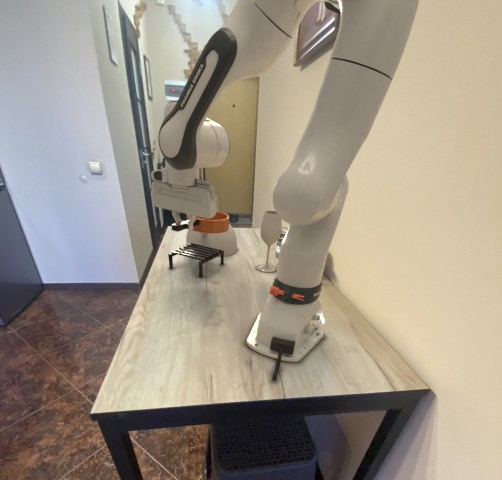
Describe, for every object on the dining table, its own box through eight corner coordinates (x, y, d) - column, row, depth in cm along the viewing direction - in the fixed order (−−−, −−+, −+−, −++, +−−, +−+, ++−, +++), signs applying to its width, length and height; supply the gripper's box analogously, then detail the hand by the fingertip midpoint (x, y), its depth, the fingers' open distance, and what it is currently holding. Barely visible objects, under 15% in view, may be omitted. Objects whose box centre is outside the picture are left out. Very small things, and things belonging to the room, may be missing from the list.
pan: (202, 219, 105) (202, 207, 103) (235, 227, 101) (236, 215, 98) (156, 234, 86) (154, 220, 84) (194, 244, 82) (194, 230, 79)
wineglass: (260, 272, 109) (266, 214, 97) (254, 265, 115) (259, 209, 103) (278, 272, 111) (286, 215, 99) (272, 265, 117) (279, 210, 105)
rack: (201, 277, 101) (200, 260, 97) (169, 268, 105) (168, 252, 102) (223, 264, 113) (224, 249, 110) (194, 256, 117) (193, 241, 114)
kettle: (229, 261, 116) (231, 201, 103) (176, 254, 118) (171, 194, 106) (241, 244, 136) (244, 192, 124) (196, 238, 139) (194, 186, 126)
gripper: (221, 181, 78) (219, 233, 85) (161, 170, 84) (164, 219, 92) (208, 183, 73) (208, 237, 81) (145, 171, 79) (151, 223, 87)
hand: (184, 228), depth 86 cm, fingers closed on pan, 2 cm apart
